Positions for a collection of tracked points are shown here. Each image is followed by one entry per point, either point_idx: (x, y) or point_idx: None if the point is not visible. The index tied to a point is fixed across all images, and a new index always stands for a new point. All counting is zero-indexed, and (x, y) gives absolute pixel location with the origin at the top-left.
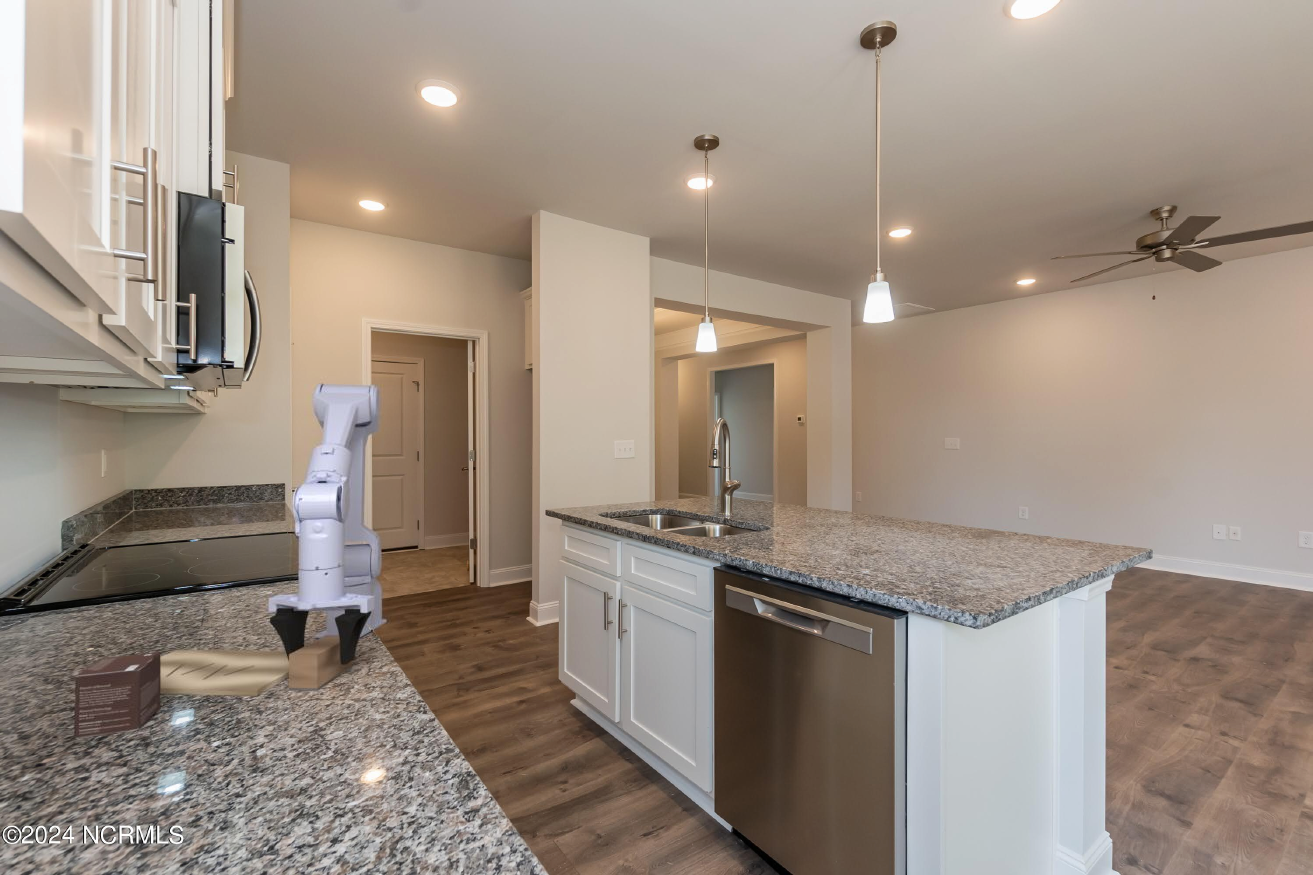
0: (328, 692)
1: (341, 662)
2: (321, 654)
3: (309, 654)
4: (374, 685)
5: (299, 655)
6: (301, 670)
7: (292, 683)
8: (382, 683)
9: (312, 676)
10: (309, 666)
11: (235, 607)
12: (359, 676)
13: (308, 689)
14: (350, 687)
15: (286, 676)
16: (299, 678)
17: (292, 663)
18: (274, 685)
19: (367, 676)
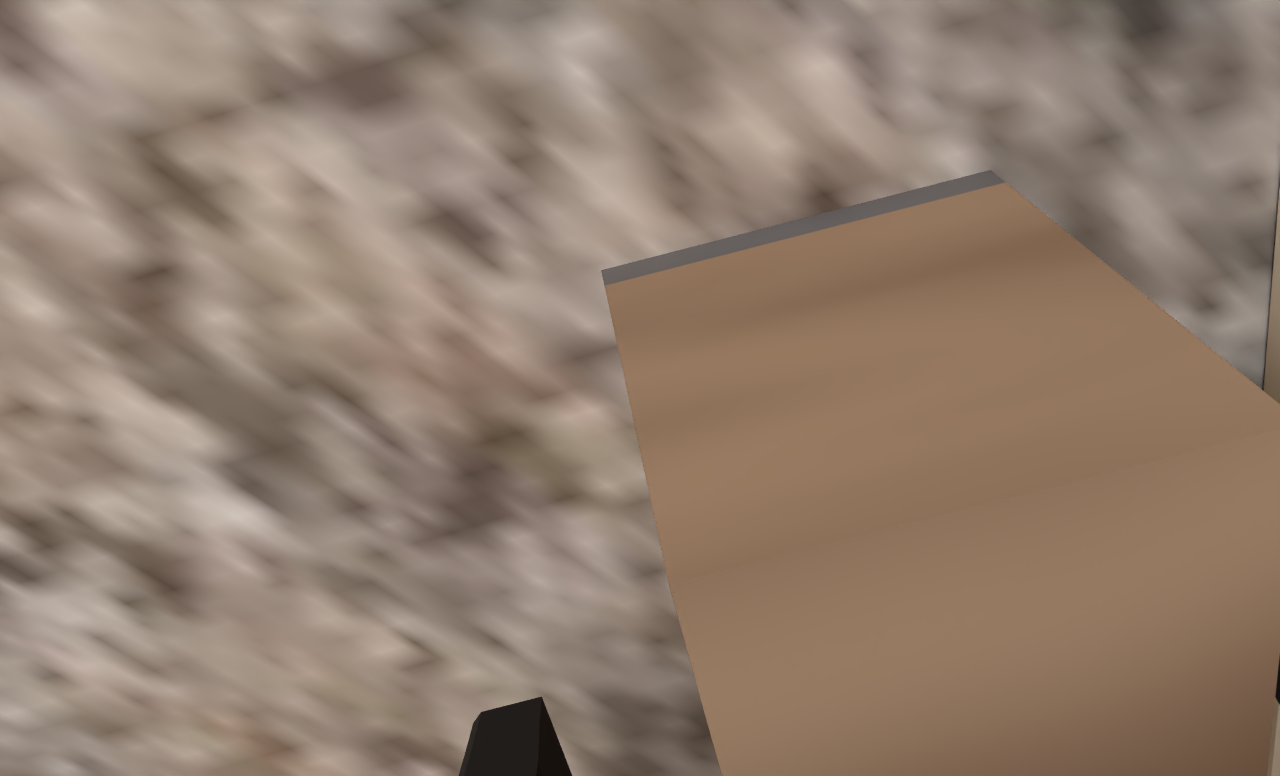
0: (409, 281)
1: (525, 715)
2: (691, 660)
3: (869, 560)
4: (43, 594)
5: (1055, 471)
6: (906, 338)
7: (979, 218)
8: (10, 656)
9: (696, 341)
10: (778, 408)
11: None
12: (462, 691)
13: (721, 244)
14: (275, 470)
15: None
16: (896, 272)
17: (1125, 353)
18: (1278, 212)
19: (373, 717)
